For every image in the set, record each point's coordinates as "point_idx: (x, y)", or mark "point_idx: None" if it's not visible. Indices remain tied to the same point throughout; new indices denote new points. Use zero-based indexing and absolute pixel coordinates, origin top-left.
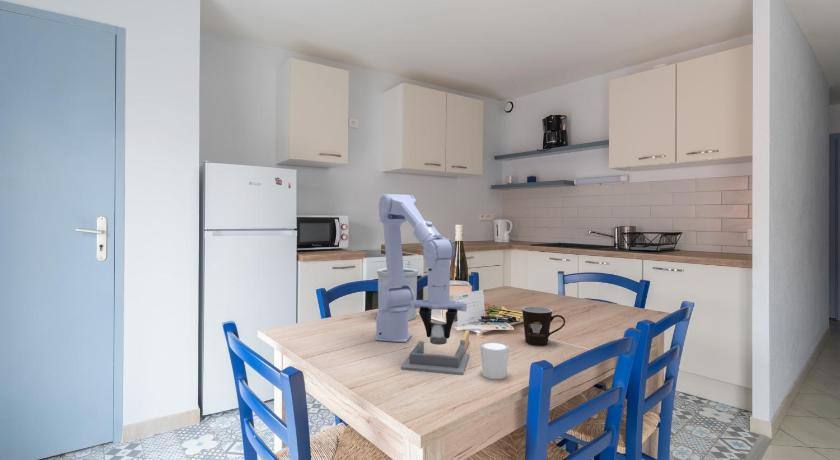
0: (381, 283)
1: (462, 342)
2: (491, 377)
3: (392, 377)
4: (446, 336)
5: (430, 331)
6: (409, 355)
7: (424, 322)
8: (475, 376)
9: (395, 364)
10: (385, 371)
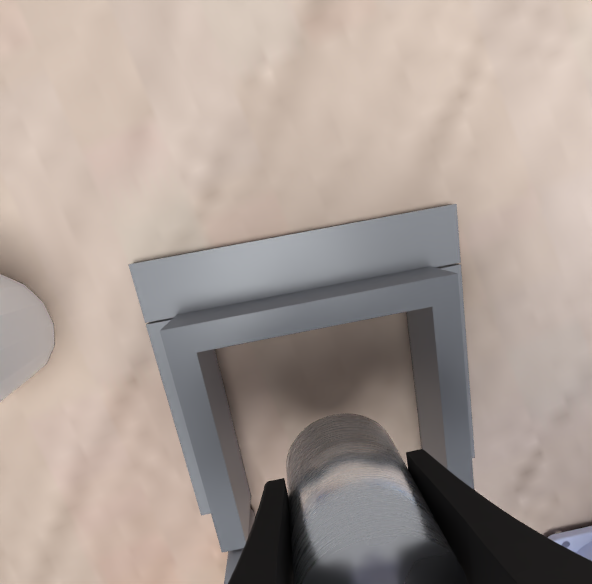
0: None
1: (233, 566)
2: None
3: (450, 80)
4: (278, 488)
5: (419, 492)
6: (453, 272)
7: (523, 531)
8: (69, 270)
9: (496, 257)
10: (511, 145)
